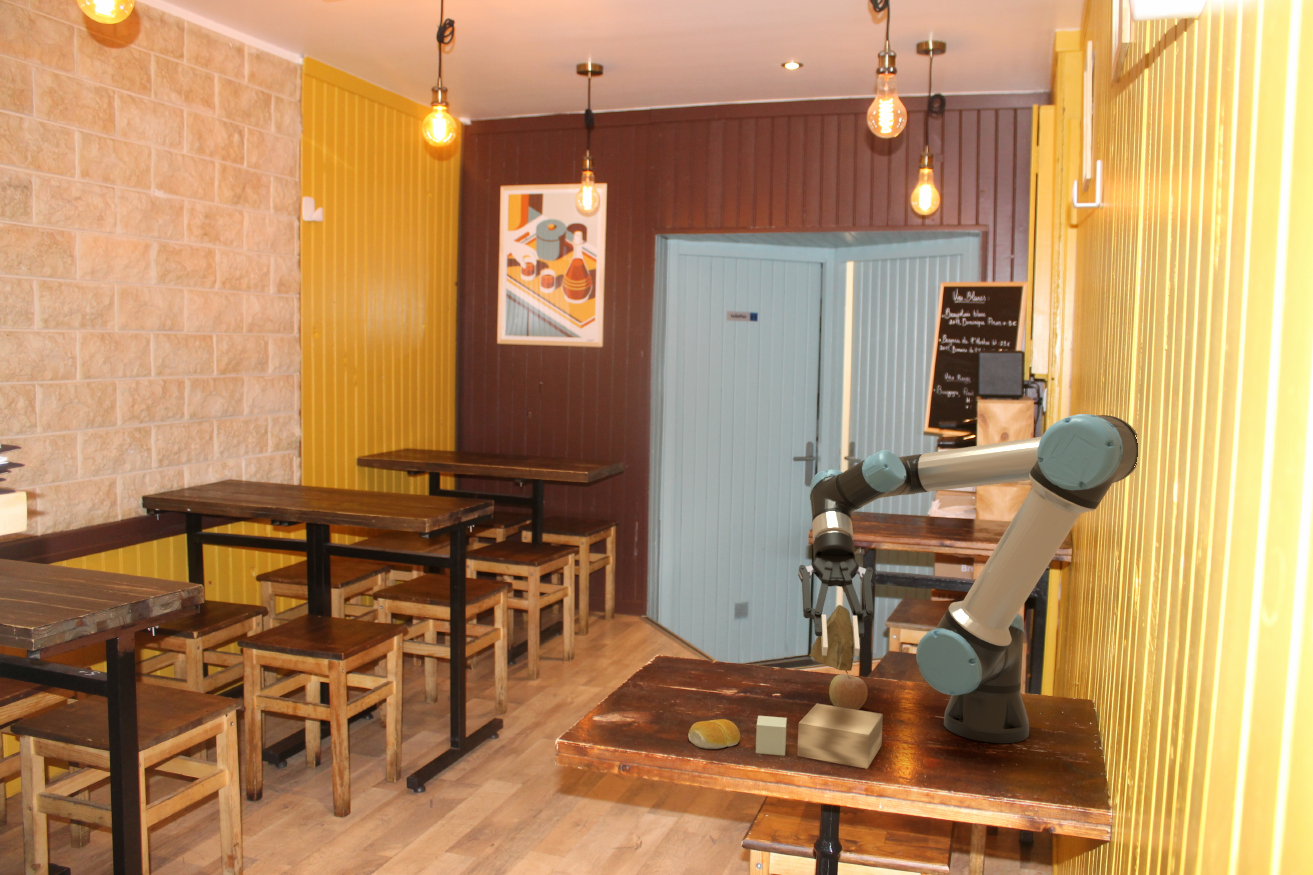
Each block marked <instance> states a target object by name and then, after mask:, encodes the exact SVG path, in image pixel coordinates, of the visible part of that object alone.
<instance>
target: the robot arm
mask: <svg viewBox="0 0 1313 875" xmlns="http://www.w3.org/2000/svg"><path fill="white" fill-rule="evenodd" d="M1135 435H1136V437H1137V435H1138V433H1137V431H1136V430H1135V429H1134V427H1132V425H1131V424H1130V423H1128V422H1127V421H1125V420H1123V419H1122V418H1121V417H1117V416H1112V415H1106V414H1099V415H1095V414H1091V413H1088V414H1087V413H1079V414H1077V413H1076V414H1073V415H1069V416H1067V417H1063V418H1062V419H1059V420H1057V421H1056V422H1054V423H1053V424H1052V425H1050V426H1049V427H1048V428H1047V429H1046V430H1045V431H1044V433H1043V434H1042V436H1037V437H1030V438H1023V439H1017V440H1016V439H1015V440H1009V441H1003V442H997V443H988V444H981V445H975V446H968V447H967V446H966V447H960V448H953V449H947V450H940V451H934V452H927V453H920V454H919V453H918V454H911V455H905V456H898V455H897V454H896V453H895V452H892V451H891V450H889V449H882V450H879V451H878V452H876V453H875V452H874V454H873V453H872V454H870V455H868V456H867V457H866V458H865V459H863V460H861V461H860V462H858V463H856V464H855V465H853V466H851V467H850V468H848V469H847V470H845V471H841V470H838V469H833V468H832V469H831V468H830V469H828V470H820V471H819V472H817V473H816V474H815V475H814V476H813V478H812V479H811V481H810V492H809V493H810V494H809V500H810V507H811V508H810V509H811V517H812V518H811V524H812V526H811V527H812V542H813V544H812V545H813V546H812V547H813V549H812V550H813V561H812V563H811V565H808V566H806V565H804V564H800V565H798V566H799V567H798V574H797V576H798V578H799V580H800V583H801V590H802V612H803V613H802V614H803V617H804V618H805V619H812V621H813V624H814V626H813V628H814V635H815V637H818V636H821V643H822V655H825V656H827V650H828V641H827V624H826V622H827V614H823V611H824V606H825V603H826V598H827V594H828V590H829V587H840V588H842V591H843V593H844V594H845V596H846V600H847V602H848V605H849V609H850V612H851V613H852V618H851V626H852V630H853V643H854V647H853V656H854V657H855V658H856V657H858V658H859V654H860V649H861V648H860V647H861V646H860V638H862V639H863V638H864V635H865V621H871V620H872V619H873V614H874V603H873V602H874V601H873V592H872V591H873V590H872V578H873V577H872V576H873V572H874V569H873V567H871V566H868V567H866V568H864V567H861V566H859V563H858V562H857V560H856V552H855V542H854V531H853V529H854V528H853V517H852V516H853V515H852V514H853V513H854V512H855V511H857V510H859V509H862V508H863V507H865V506H866V505H868V504H870V503H871V502H874V501H877V500H878V499H883V498H890V497H897V496H906V495H915V494H922V493H924V494H925V493H928V492H939V491H946V490H947V491H949V490H956V489H964V488H965V489H966V488H972V487H973V488H974V487H975V488H976V487H982V486H992V485H993V486H994V485H999V484H1000V485H1001V484H1010V483H1017V482H1028V481H1030V483H1031V488H1030V489H1029V492H1028V493H1027V495H1026V496H1025V498H1024V500H1023V502H1022V503H1021V505H1020V506H1019V508H1018V510H1017V511H1016V513H1015V515H1014V517H1013V518H1012V519H1011V521H1010V523H1009V525H1008V526H1007V527H1006V530H1005V531H1004V533H1003V535H1002V536H1001V537H1000V539H999V541H998V543H997V545H996V546H995V547H994V549H993V551H992V553H991V554H990V556H989V557H988V559H987V561H986V562H985V564H984V566H982V568H981V571H980V572H979V574H978V576H977V578H976V579H975V581H974V582H973V584H972V586H971V587H970V589H969V591H968V592H967V594H966V595H965V597H964V599H963V600H960V601H954V602H952V603H950V605H949V606H948V607H947V609H946V611H945V613H944V615H942V617H941V619H940V621H939V622H938V624H937V626H936V627H935V628H934V629H931V630H929V631H928V632H926V634H924V635H923V636H922V637H921V638H920V640H919V642H918V644H917V647H916V653H915V654H916V655H915V659H916V663H917V666H918V669H919V672H920V675H921V676H922V677H923V679H924V680H925V681H926V683H927V684H929V686H930V687H932V689H934V690H936V691H938V692H939V693H942V694H944V695H949V696H950V698H949V699H948V703H947V705H946V708H945V709H944V710H945V711H944V714H943V716H944V718H943V726H944V727H945V729H947V730H948V731H949V732H951V733H952V734H955V735H957V736H959V737H963V738H965V739H969V740H974V741H978V742H985V743H990V744H991V743H993V744H1013V743H1019V742H1023V741H1026V739H1028V737H1029V735H1030V721H1029V717H1028V714H1027V711H1026V710H1027V709H1026V707H1025V703H1024V701H1023V697H1022V693H1021V689H1022V686H1021V685H1022V670H1023V651H1024V649H1023V648H1024V635H1025V629H1024V618H1023V616H1022V614H1020V613H1019V612H1020V611H1021V609H1022V608H1023V606H1024V605H1025V603H1026V601H1027V600H1028V598H1029V596H1030V595H1031V594H1032V592H1033V590H1034V589H1035V587H1036V586H1037V584H1038V582H1039V580H1041V577H1042V576H1043V574H1044V573H1045V571H1046V569H1047V568H1048V566H1050V563H1051V562H1052V560H1053V558H1054V557H1055V555H1056V554H1057V553H1058V551H1059V549H1060V548H1061V546H1062V544H1063V542H1064V541H1065V540H1066V538H1067V537H1068V535H1069V533H1070V532H1071V530H1072V529H1073V528H1074V525H1075V523H1076V522H1077V521H1078V519H1079V518H1080V515H1082V514H1084V513H1088V512H1095V511H1096V510H1097V508H1098V507H1099V506H1100V504H1101V502H1102V500H1103V499H1104V497H1105V496H1106V494H1107V492H1108V491H1109V490H1110V488H1111V486H1112V484H1114V483H1115V484H1116V483H1118V482H1120V481H1122V480H1125V479H1126V478H1127V477H1128V476H1130V475H1131V474H1132V473H1133V472H1134V471H1135V469H1136V468H1137V467H1136V465H1137V463H1136V462H1137V457H1138V443H1137V439H1136V437H1135ZM1135 464H1136V465H1135ZM1134 466H1135V467H1134ZM1137 466H1138V465H1137ZM812 574H814V575H815V576H816V577H817V578H818V579H819V581H820V582H821V583H820V588H819V592H818V596H817V600H816V604H815V608H814V607H813V608H812V601H811V600H812V599H811V598H812V596H811V578H812ZM856 575H858V576H859V579H860V582H862V584H861V585H862V586H861V588H862V595H863V596H862V597H863V607H864V608H862V606H861V603H860V600H859V598H858V594H857V593H856V589H855V587H854V583H853V579H854V578H855V576H856Z"/></svg>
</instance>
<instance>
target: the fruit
mask: <svg viewBox="0 0 1313 875" xmlns="http://www.w3.org/2000/svg"><path fill="white" fill-rule="evenodd" d="M844 671H845V674H844V673H840V674H837V675H836V676H834V677H833V678H832V680H831V681H830V684H829V688H828V689H829V692H828V694H829V699H830V701H831V703H832V704H833V705H832V706H836V707H842V708H848V709H854V710H860V709H861V708H862V707H863V705H865V703H866V702H867V699H868V693H869V692H868V687H867V684H866V682H865V681H864V680H863V679H862V678H860V677H858V676H855V675H850V674H849V673H848V671H846V670H844Z"/></svg>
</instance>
